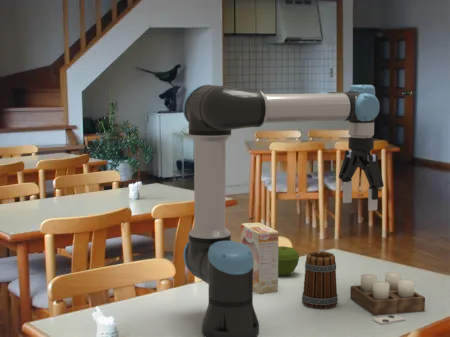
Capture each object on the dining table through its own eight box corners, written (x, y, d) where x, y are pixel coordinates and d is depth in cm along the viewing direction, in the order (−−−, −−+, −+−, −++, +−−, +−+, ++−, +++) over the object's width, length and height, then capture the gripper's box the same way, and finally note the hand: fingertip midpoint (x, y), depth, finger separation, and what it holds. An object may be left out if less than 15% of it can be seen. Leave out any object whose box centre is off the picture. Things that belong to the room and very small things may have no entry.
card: (380, 324, 201) (381, 322, 201) (372, 320, 205) (372, 318, 205) (404, 320, 205) (404, 318, 204) (395, 316, 208) (395, 314, 208)
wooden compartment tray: (373, 315, 209) (374, 301, 208) (350, 298, 224) (350, 286, 224) (424, 311, 213) (425, 297, 212) (398, 294, 228) (398, 282, 228)
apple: (263, 271, 254) (263, 243, 253) (291, 269, 257) (291, 241, 256) (274, 280, 244) (274, 250, 242) (303, 277, 247) (304, 248, 245)
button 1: (364, 294, 218) (365, 278, 217) (357, 290, 222) (358, 274, 222) (378, 293, 219) (379, 277, 218) (371, 289, 224) (372, 273, 223)
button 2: (377, 303, 210) (377, 286, 210) (370, 298, 215) (370, 281, 214) (391, 301, 211) (392, 284, 211) (384, 297, 216) (384, 280, 215)
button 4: (402, 300, 212) (403, 283, 212) (394, 296, 217) (395, 279, 216) (416, 299, 214) (417, 282, 213) (408, 294, 218) (409, 278, 217)
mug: (336, 310, 213) (337, 260, 211) (300, 308, 215) (301, 258, 213) (339, 294, 228) (340, 247, 226) (305, 292, 230) (306, 245, 228)
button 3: (389, 292, 220) (389, 276, 219) (382, 288, 224) (382, 272, 224) (403, 291, 221) (403, 275, 221) (395, 287, 226) (396, 271, 225)
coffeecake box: (239, 281, 242) (240, 223, 240) (259, 279, 245) (260, 221, 242) (257, 294, 228) (258, 232, 226) (278, 292, 231) (279, 231, 228)
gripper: (397, 139, 211) (394, 212, 214) (348, 132, 234) (347, 198, 237) (375, 140, 208) (373, 214, 211) (328, 133, 231) (327, 200, 234)
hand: (359, 206), depth 224 cm, fingers open, 13 cm apart
